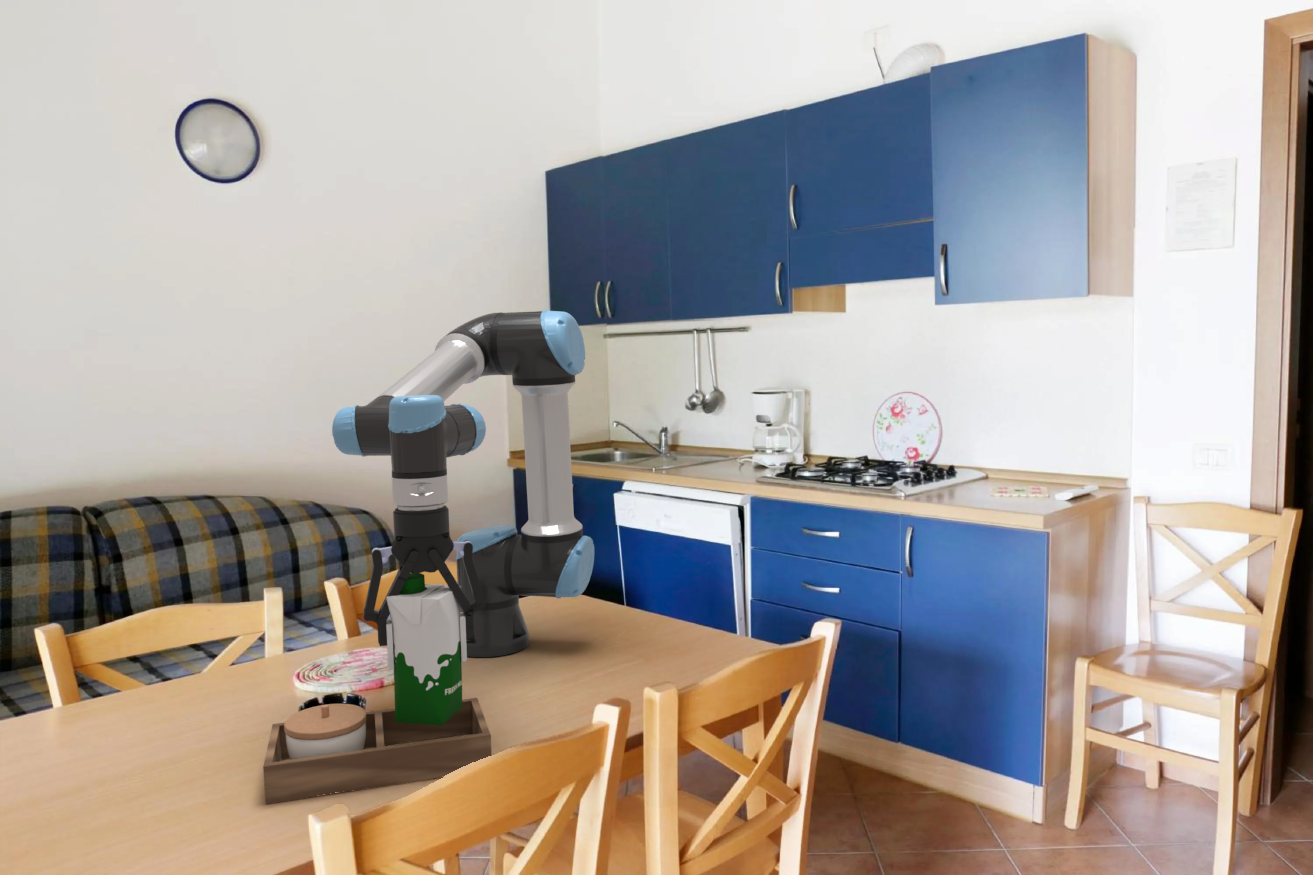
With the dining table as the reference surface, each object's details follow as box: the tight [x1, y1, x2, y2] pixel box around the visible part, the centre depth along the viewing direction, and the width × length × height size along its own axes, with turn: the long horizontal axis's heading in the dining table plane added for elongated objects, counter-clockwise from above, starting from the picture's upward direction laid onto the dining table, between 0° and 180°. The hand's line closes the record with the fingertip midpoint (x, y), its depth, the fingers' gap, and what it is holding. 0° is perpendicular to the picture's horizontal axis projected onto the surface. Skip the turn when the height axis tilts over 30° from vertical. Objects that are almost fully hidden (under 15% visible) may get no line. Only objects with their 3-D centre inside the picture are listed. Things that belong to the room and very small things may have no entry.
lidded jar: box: [283, 703, 367, 760], centre depth 132 cm, size 11×11×9 cm
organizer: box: [262, 697, 492, 805], centre depth 134 cm, size 15×29×5 cm, turn 108°
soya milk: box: [385, 573, 463, 725], centre depth 135 cm, size 9×9×20 cm
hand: (427, 663), depth 135 cm, fingers closed on soya milk, 9 cm apart
